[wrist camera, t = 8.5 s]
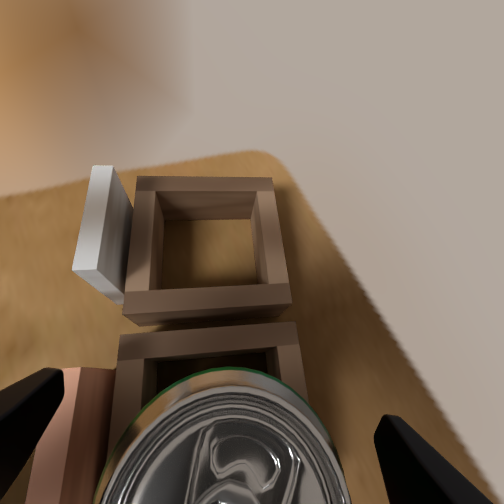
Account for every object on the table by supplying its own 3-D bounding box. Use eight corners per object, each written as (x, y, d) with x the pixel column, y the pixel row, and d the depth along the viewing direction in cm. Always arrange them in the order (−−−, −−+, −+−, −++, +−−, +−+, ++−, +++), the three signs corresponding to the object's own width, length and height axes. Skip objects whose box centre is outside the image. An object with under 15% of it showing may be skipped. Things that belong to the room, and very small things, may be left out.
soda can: (272, 387, 16) (389, 409, 5) (248, 492, 14) (369, 901, 3) (192, 361, 16) (149, 331, 5) (156, 461, 14) (-46, 760, 3)
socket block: (305, 508, 14) (364, 591, 8) (87, 551, 12) (-13, 690, 7) (263, 206, 22) (279, 150, 16) (128, 207, 20) (96, 144, 15)
